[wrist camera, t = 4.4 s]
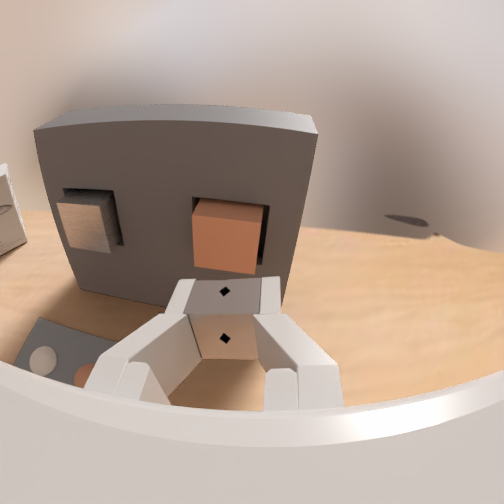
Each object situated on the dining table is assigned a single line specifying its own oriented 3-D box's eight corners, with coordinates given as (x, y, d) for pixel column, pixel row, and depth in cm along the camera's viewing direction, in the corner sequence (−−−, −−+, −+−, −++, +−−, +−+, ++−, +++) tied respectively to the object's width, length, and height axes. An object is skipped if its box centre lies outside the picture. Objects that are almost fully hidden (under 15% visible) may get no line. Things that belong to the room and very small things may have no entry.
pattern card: (111, 440, 18) (109, 439, 18) (5, 387, 19) (2, 385, 18) (142, 350, 26) (140, 347, 26) (40, 319, 26) (38, 316, 26)
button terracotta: (254, 274, 24) (261, 223, 20) (194, 266, 24) (191, 215, 21) (257, 251, 26) (263, 202, 23) (202, 244, 26) (202, 195, 23)
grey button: (110, 253, 24) (99, 206, 21) (70, 246, 24) (56, 202, 21) (124, 234, 26) (116, 188, 23) (84, 229, 26) (74, 186, 23)
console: (277, 323, 30) (318, 133, 18) (80, 288, 31) (33, 130, 18) (279, 284, 35) (310, 115, 22) (100, 257, 36) (70, 111, 23)
